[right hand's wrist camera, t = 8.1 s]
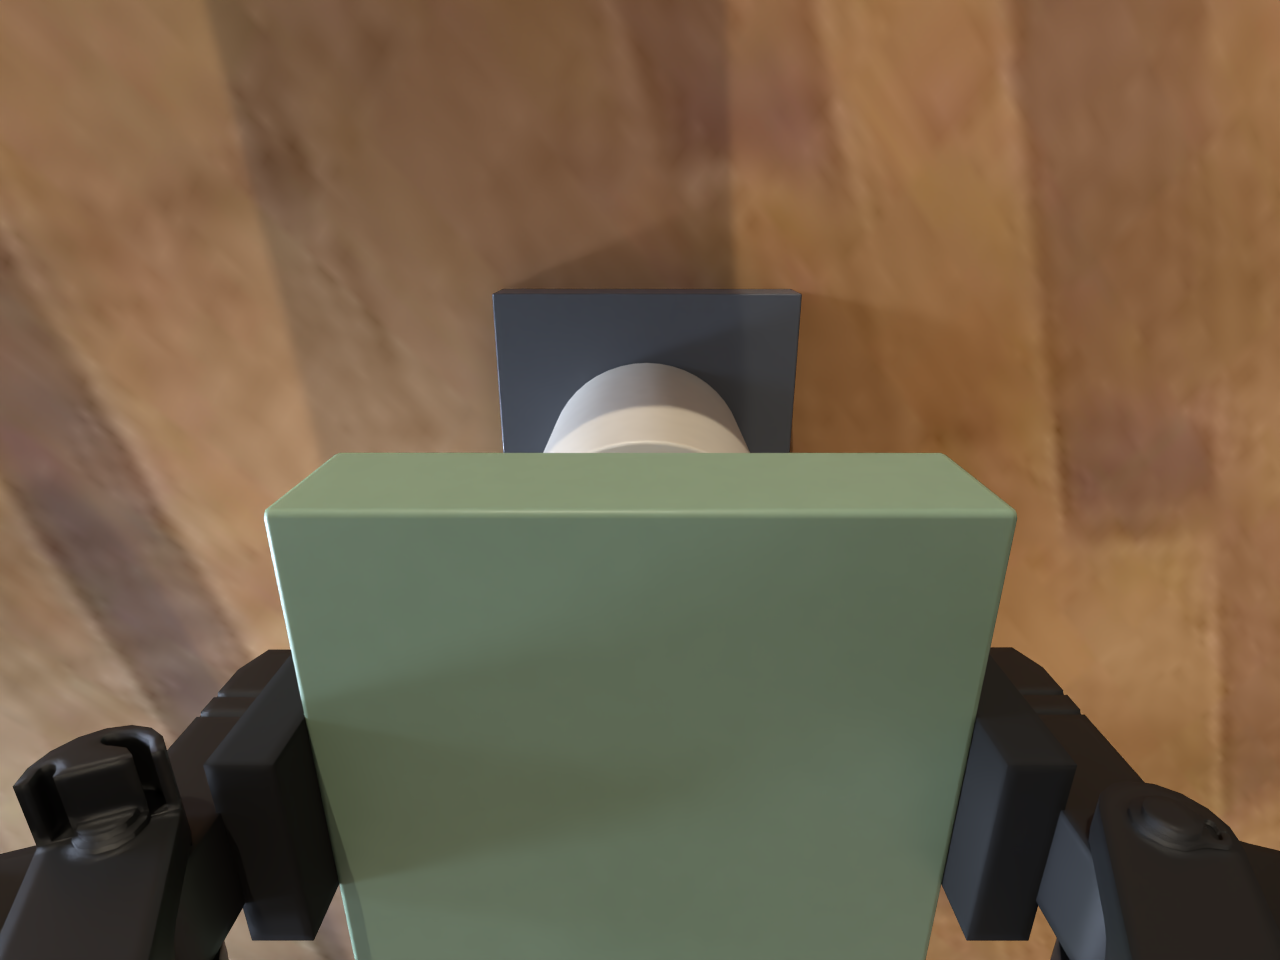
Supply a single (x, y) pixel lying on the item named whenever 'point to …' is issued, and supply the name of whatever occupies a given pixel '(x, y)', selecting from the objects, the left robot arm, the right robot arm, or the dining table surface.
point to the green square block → (640, 696)
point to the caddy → (646, 369)
